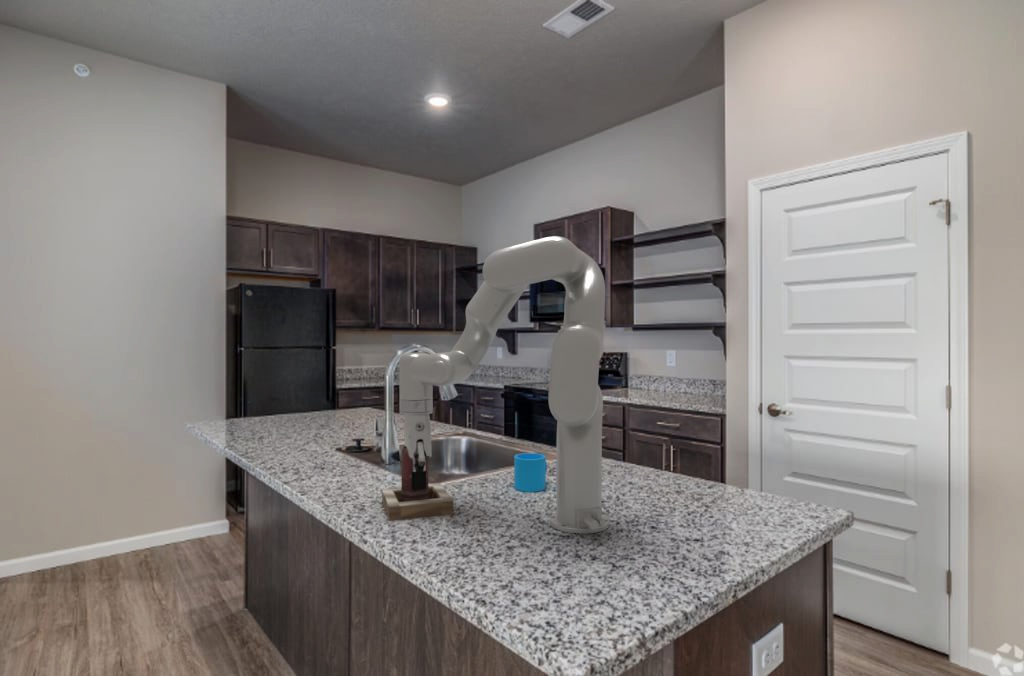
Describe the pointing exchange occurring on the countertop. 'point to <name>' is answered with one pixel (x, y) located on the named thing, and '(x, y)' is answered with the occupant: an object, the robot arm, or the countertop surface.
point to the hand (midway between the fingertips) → (416, 484)
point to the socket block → (417, 504)
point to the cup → (406, 479)
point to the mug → (530, 472)
